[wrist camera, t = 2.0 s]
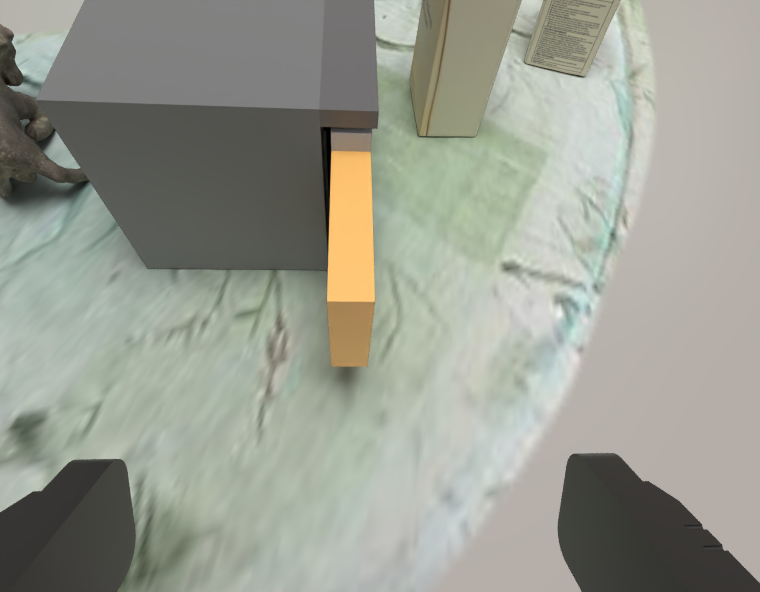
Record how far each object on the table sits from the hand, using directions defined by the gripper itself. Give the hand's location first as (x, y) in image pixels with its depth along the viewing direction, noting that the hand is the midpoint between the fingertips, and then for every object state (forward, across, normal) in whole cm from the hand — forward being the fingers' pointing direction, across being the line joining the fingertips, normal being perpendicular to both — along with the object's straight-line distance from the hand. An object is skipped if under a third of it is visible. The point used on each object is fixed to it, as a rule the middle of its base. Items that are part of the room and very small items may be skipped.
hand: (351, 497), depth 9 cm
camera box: (+25, +5, -5) cm, 26 cm away
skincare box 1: (+29, -7, -10) cm, 32 cm away
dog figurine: (+26, +20, -6) cm, 33 cm away
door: (+19, 0, -2) cm, 20 cm away
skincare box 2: (+34, -17, -15) cm, 41 cm away
